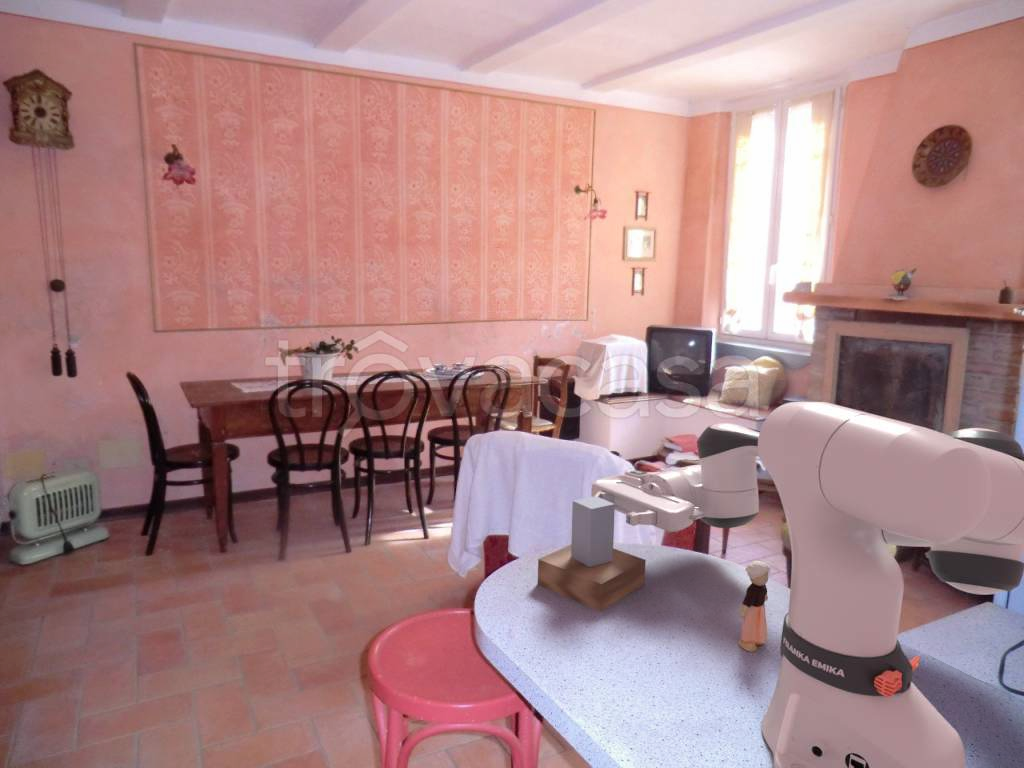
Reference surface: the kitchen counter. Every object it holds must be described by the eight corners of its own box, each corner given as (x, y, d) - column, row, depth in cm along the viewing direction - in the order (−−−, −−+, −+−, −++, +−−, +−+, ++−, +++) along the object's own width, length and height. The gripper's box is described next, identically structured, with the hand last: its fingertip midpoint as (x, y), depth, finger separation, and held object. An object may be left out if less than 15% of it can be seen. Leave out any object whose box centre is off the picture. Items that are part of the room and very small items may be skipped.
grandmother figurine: (759, 658, 96) (767, 574, 94) (732, 650, 98) (739, 567, 96) (772, 635, 103) (780, 555, 101) (746, 627, 105) (753, 549, 103)
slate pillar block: (612, 560, 116) (614, 504, 115) (589, 567, 114) (591, 509, 112) (593, 551, 120) (595, 496, 119) (571, 557, 118) (572, 500, 116)
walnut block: (643, 587, 118) (645, 559, 117) (599, 613, 109) (601, 584, 108) (583, 563, 127) (584, 538, 126) (537, 586, 117) (538, 559, 117)
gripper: (708, 531, 119) (653, 549, 111) (622, 498, 135) (569, 512, 127) (710, 496, 118) (656, 512, 110) (623, 467, 134) (570, 479, 126)
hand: (609, 511), depth 118 cm, fingers open, 8 cm apart
